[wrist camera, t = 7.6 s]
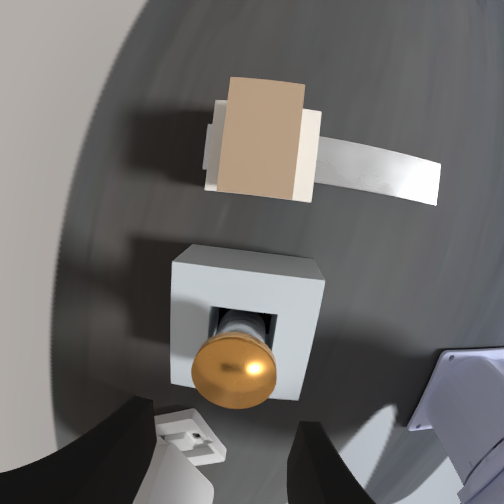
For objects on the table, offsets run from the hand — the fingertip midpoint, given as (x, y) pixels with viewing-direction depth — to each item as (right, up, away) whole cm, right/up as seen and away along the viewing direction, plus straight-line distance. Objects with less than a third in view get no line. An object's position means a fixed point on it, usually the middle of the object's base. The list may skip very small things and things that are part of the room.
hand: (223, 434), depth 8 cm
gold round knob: (0, +2, +7) cm, 8 cm away
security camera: (-5, -10, +13) cm, 17 cm away
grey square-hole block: (+1, +2, +10) cm, 10 cm away
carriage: (+2, +11, +8) cm, 14 cm away
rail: (+5, +11, +8) cm, 14 cm away
